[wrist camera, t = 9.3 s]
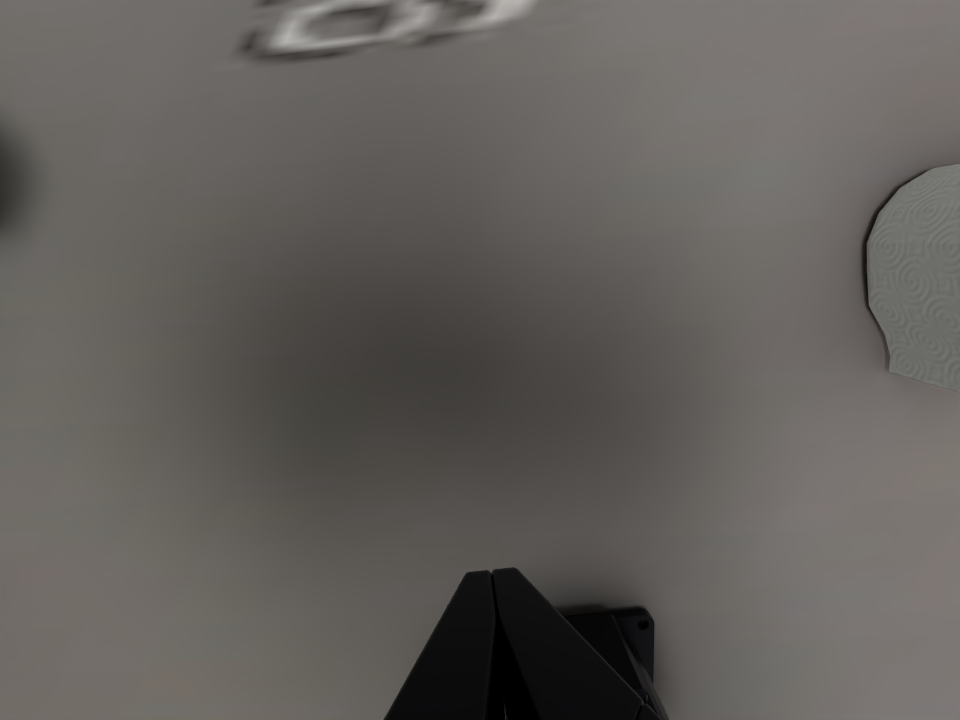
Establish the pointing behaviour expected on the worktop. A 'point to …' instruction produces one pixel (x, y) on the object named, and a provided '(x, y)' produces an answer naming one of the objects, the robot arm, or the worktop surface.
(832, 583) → the worktop surface
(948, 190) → the paper towel roll
